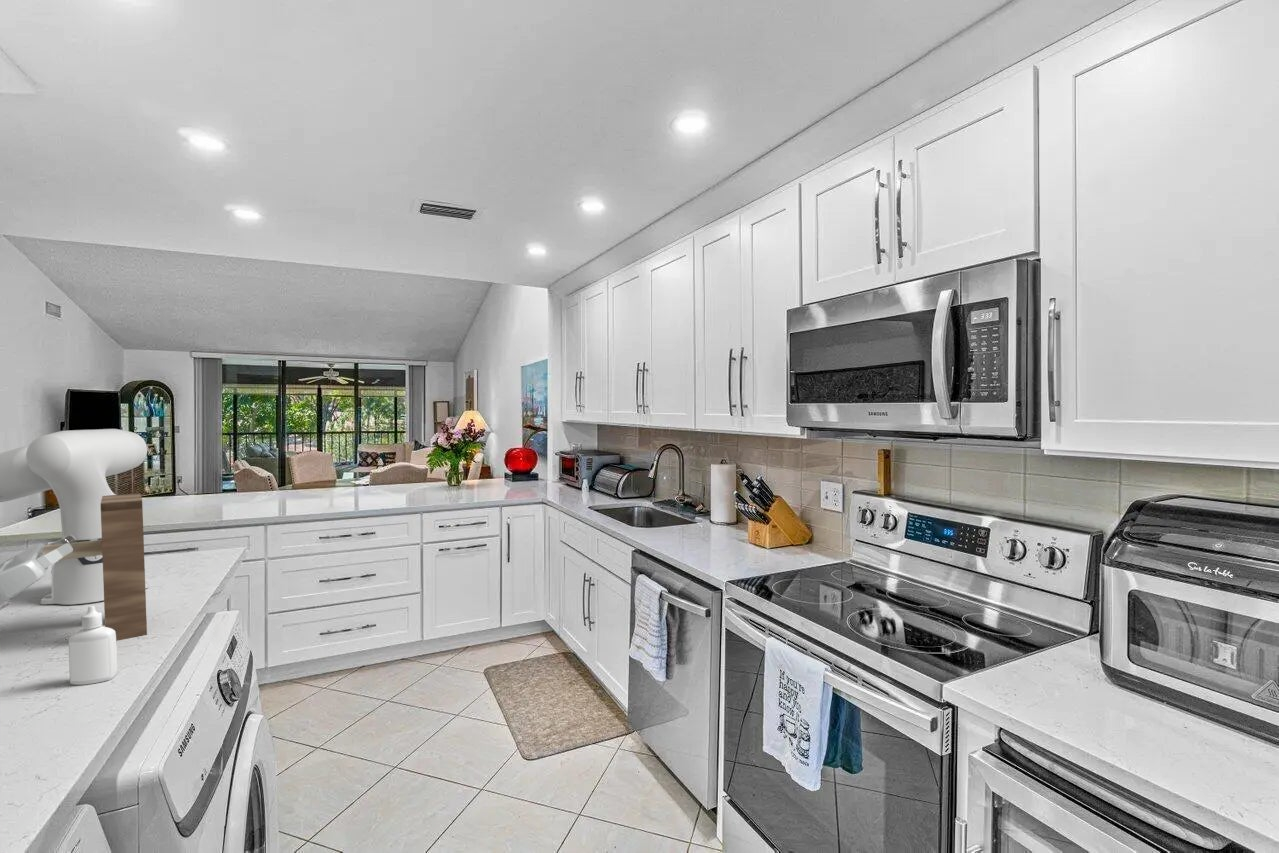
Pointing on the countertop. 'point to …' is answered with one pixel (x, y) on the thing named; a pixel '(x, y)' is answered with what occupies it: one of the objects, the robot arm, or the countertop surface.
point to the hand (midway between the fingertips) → (72, 541)
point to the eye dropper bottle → (92, 651)
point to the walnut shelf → (123, 565)
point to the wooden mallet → (80, 549)
